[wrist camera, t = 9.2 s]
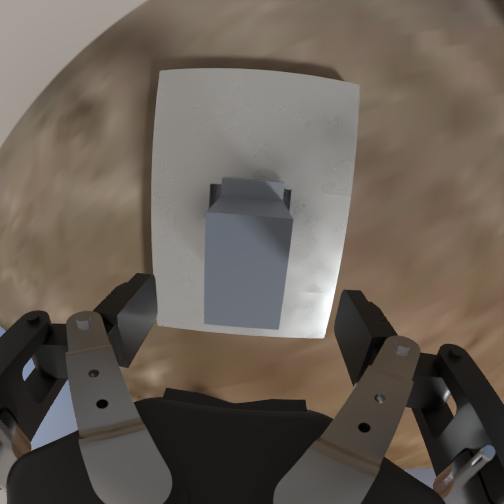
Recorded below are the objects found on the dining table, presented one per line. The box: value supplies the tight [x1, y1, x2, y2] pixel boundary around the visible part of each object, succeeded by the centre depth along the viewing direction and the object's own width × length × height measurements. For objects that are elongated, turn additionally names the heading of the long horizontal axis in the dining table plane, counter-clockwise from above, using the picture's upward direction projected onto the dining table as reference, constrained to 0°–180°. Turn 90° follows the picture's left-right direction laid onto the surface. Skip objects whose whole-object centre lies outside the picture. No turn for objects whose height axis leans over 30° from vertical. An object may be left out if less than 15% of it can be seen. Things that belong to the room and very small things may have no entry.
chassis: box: [151, 68, 360, 338], centre depth 20 cm, size 14×20×2 cm
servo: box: [204, 177, 293, 330], centre depth 18 cm, size 4×8×8 cm, turn 175°
